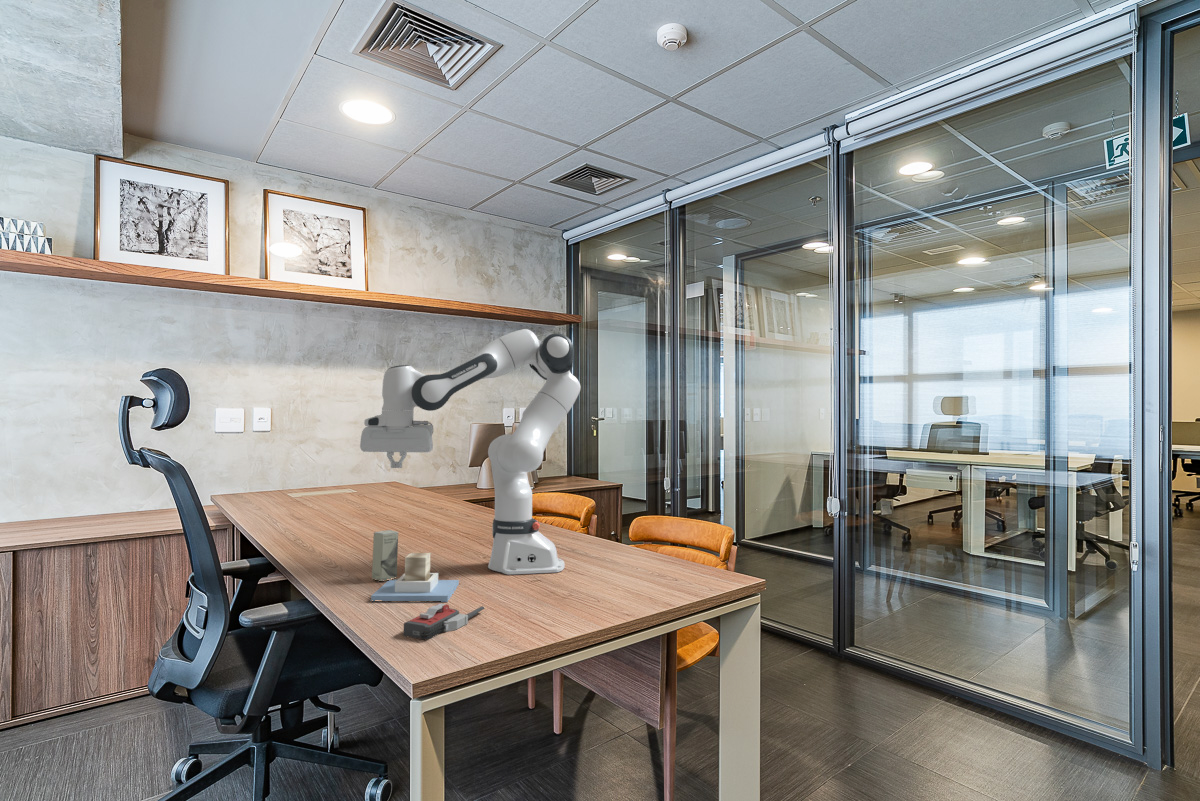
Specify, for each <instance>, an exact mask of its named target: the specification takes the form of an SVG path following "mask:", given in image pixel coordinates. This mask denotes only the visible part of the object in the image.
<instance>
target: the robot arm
mask: <svg viewBox="0 0 1200 801" xmlns="http://www.w3.org/2000/svg"><path fill="white" fill-rule="evenodd" d="M574 356H575V349H574V344H573V343H572V340H571V339H570V338H569V337H568V336H566V334H565V335H564V334H562V333H559V332H558V333H555V332H554V333H552V334H549V335H547V336H546V337H545V338H544V339H542V340H540V339H538V337H537V335H536V334H535V333H534V332H533V331H532V330H530V329H527V328H522V329H519V330H515V331H512V332H508V333H505V334H504V335H502V336H499V337H497V338H495V339H494V340H492V341H490V342H489V343H487V344H485V345H484V346H483V347H481V348H480V349H479V350H478V351H477V353H475V355H474V356H473V357H472V358H470V359H469V360H468V361H466V362H464V363H462V364H460V365H458V366H456V367H454V368H452V369H450V370H448V371H446V372H442V373H439V374H435V373H434V374H424V372H420V371H419V370H417V369H415V368H414V367H413V366H412V365H408V364H405V365H404V364H401V365H394V366H390V367H389V368H387V369H386V371H385V372H384V375H383V378H382V379H383V380H382V392H381V394H382V395H381V396H382V399H383V400H382V401H383V402H382V403H383V404H382V407H381V413H380V414H379V415H378V414H377V415H375V416H372V417H368V418H365V419H364V422H363V423H364V426H365V427H364V428H363V429H362V431H361V436H360V442H359V443H360V444H359V448H360V450H361V451H362V452H363V453H364V452H365V453H386V456H387V457H386V458H387V459H388V460H389V462H390V468H391V469H403V462H404V461H405V459H406V457H407V456H408V455H407V453H430V452H431V451H433V449H434V448H433V446H434V445H433V434H434V425H433V423H431V422H429V421H428V420H414V408H416V407H417V408H420V409H421V410H424V411H429V412H430V411H431V412H432V411H437V410H439V409H440V408H442V407H443V406H445V404H447V402H449V399H450V398H451V397H452V396H453V395H454V394H456V393H457V392H459V391H461V390H463V389H465V388H467V387H468V386H470V385H472V384H474V383H475V382H478V381H480V380H484V379H485V380H486V379H495V378H498V377H502V376H504V375H507V374H509V373H511V372H513V371H515V370H517V369H520V368H521V367H522V366H523V367H524V366H525V365H528V366H529V367H530V368H531V369H532V371H534V372H535V373H536V374H537V375H538V376H539V377H540V378H541V379H543V380H544V381H545V383H544V384H543V386H542V387H541V389H540V390H539V391H538V392H537V393H536V395H535V396H534V397H533V399H532V400H531V401H530V402H529V404H528V405H527V406H526V408H525V409H524V411H523V412H522V415H521V419H520V421H519V423H518V426H517V427H516V428H515V431H514V432H513V433H512V434H509V433H508V434H502V435H500V436H498V437H496V438H494V439H493V440H492V441H491V442H490V443H489V447H488V448H487V450H488V451H487V454H488V456H487V457H488V458H489V461H490V467H491V474H492V481H493V487H494V488H493V489H494V517H493V519H492V525H491V526H492V529H491V530H492V533H491V534H492V538H493V539H492V540H493V541H492V547H491V548H492V549H491V554H490V559H489V562H488V565H487V568H488V569H489V570H492V571H495V572H499V573H502V574H505V575H527V574H550V573H559V572H561V571H563V570H564V569H565V561H564V560H563V559H562V558H559V557H558V551H557V547H556V545H555V543H554V542H553V541H552V540H550V539H549V538H548V537H546V536H544V534H543V533H541V532H540V531H539V529H540V526H541V525H540V522H539V520H538V519H535V518H533V491H532V490H533V489H532V488H531V485H530V482H529V476H528V473H531V472H534V471H536V470H537V469H538V468H539V467H540V466H541V464H542V462H543V460H544V452H545V450H546V447H547V446H548V444H549V442H550V440H551V438H552V435H553V434H554V432H555V431H556V430H557V428H558V427H559V425H561V423H562V421H563V420H564V419H565V417H566V415H568V413H569V412H570V411H571V409H572V408H573V405H574V404H575V403H576V400H577V399H578V396H579V395H580V392H581V388H582V387H581V383H580V381H579V379H578V378H577V377H576V376H575V375H573V373H572V372H571V370H572V369H573V367H574V366H573V365H574ZM395 453H399V456H400V458H399V460H398V461H395V459H394V457H393V456H394V455H395Z"/></svg>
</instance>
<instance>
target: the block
mask: <svg viewBox="0 0 1200 801" xmlns="http://www.w3.org/2000/svg"><path fill="white" fill-rule="evenodd" d="M404 573H405V581H428V580H429V579H430V573H431V552H410V553H409V554H408V555H406V556H405V557H404Z"/></svg>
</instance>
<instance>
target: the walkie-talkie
mask: <svg viewBox="0 0 1200 801" xmlns="http://www.w3.org/2000/svg"><path fill="white" fill-rule="evenodd" d="M483 610H485V606H483V605H482V606H479V607H478V608H476V609H474V610H472V611H470V612H469V613H465V614H463V613H460V611H459V610H458V609H455V608H450V605H449V604H446V603H441V602H438V603H437V604H435V605H432V606H430V607H429V608H428V609H427V610H426V612H423V613H422V612H421V613H419V615H417V616H416V617H414V618H412V619H410V620H407V621H406V622H404V623H403V637H407V636H409V637H408V638H413V637H414V639H418V638H420V640H424V639H426V640H431V639H432V638H434V637H436V636H438V635H440V634H441V633H443V632H445V633H447V632H452V631H456V630H458V629H461V628H462V627H464V626H466V625H468V623H469V620H470V619H471V618H473V617H474V616H477V615H478V614H479V613H480V612H481V611H483ZM439 633H440V634H439ZM437 634H438V635H437ZM435 635H436V636H435ZM433 636H434V637H433Z"/></svg>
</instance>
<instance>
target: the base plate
mask: <svg viewBox="0 0 1200 801" xmlns="http://www.w3.org/2000/svg"><path fill="white" fill-rule="evenodd" d="M459 583H460V580H459V579H439V572H430V579H429V580H428V581H405V572H404V573H403V574H402V575H401V576H400V577H399V578H397V579H393V580H389V581H385V583H384V584H383V585H382V586H380V587H379V588H378V589H377V590H375V592H373V593H372V595H371V596H370V602H371V601H372V600H373V601H375V600H382V601H441V602H440V603H448V602H449V601H450V599H451V598H452V596H453V595H454V593H455V592H456V591H457V589H458V588H457V586H458V585H459V586H460V584H459ZM459 586H458V587H459ZM456 588H457V589H456ZM454 591H455V592H454ZM452 594H453V595H452ZM450 597H451V598H450ZM448 600H449V601H448Z"/></svg>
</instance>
